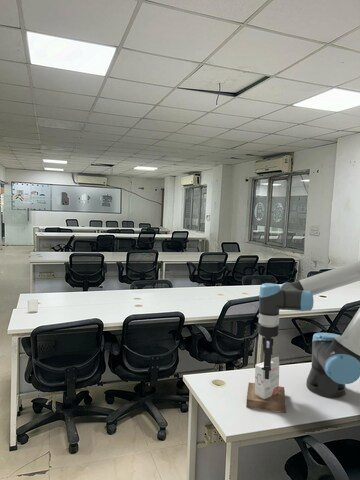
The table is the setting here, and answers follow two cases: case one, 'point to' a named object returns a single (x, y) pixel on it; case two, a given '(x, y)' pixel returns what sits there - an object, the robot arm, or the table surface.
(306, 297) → the robot arm
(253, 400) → the walnut base
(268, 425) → the table surface
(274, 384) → the ink cartridge box
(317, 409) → the table surface
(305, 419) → the table surface
